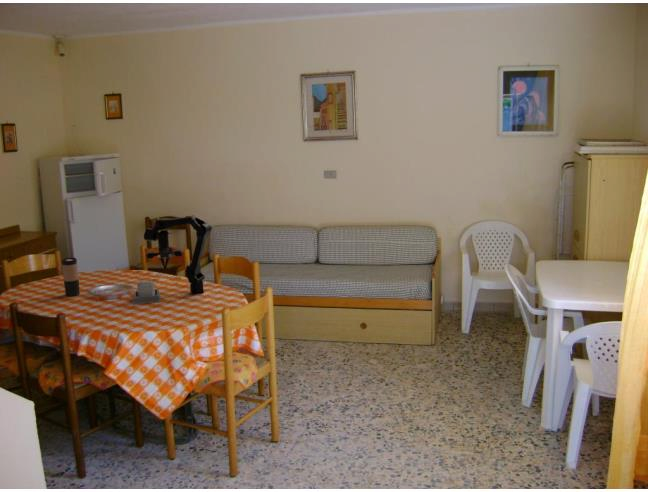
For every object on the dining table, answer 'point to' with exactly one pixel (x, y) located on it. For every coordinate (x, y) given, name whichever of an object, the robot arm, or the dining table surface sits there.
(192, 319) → the dining table surface
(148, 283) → the medicine box
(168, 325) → the dining table surface
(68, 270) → the travel mug
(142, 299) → the caddy
